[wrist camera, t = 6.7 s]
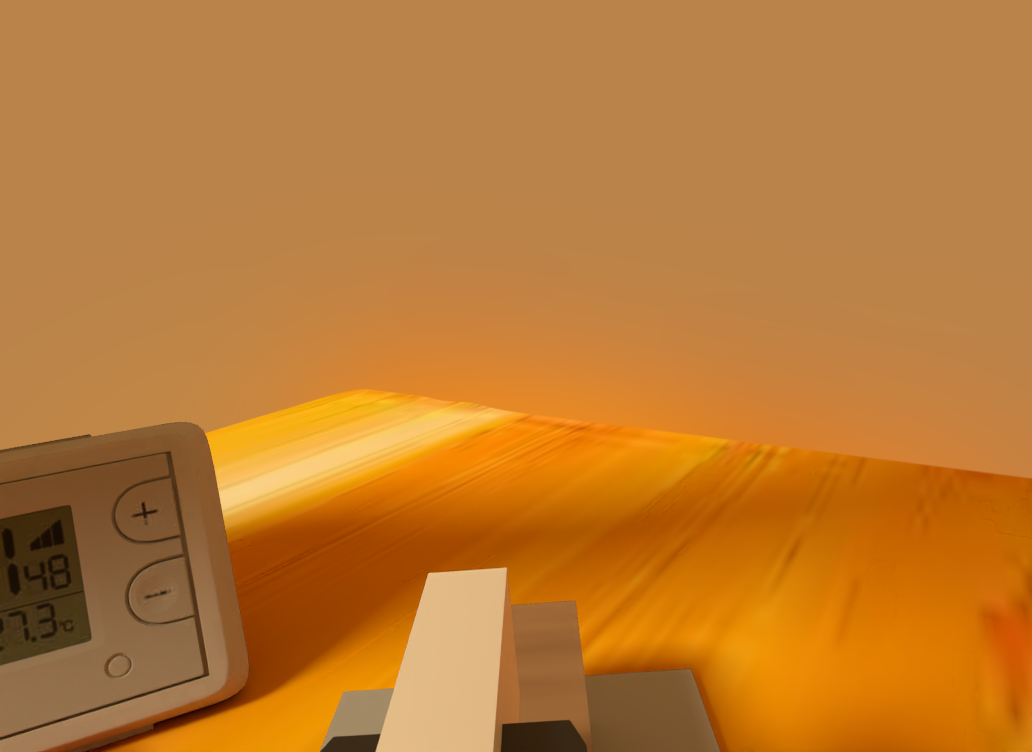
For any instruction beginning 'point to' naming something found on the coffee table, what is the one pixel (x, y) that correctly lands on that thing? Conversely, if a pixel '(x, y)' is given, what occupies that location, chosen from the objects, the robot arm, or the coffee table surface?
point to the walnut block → (551, 665)
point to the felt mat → (612, 713)
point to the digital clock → (113, 588)
